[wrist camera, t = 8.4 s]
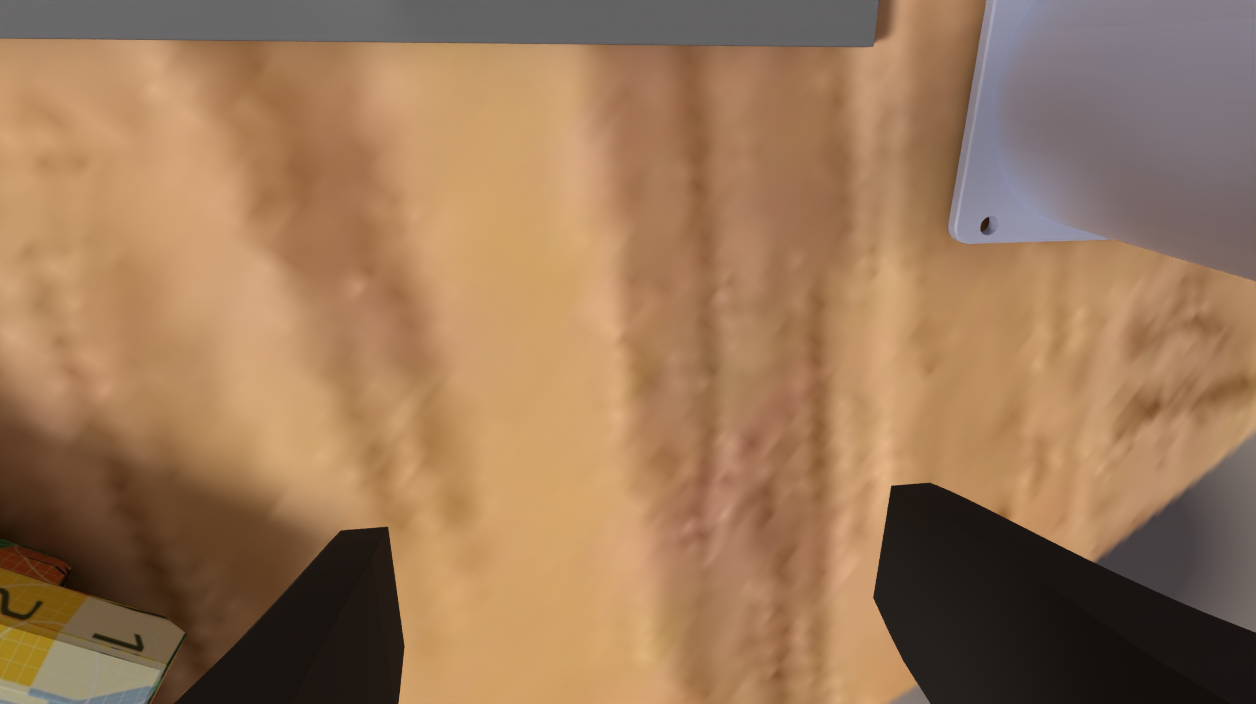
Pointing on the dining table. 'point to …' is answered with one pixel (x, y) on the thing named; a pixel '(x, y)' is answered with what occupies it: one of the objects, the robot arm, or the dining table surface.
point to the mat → (453, 21)
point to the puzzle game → (74, 639)
